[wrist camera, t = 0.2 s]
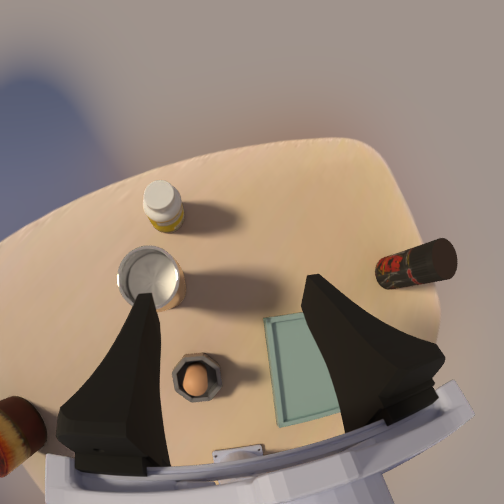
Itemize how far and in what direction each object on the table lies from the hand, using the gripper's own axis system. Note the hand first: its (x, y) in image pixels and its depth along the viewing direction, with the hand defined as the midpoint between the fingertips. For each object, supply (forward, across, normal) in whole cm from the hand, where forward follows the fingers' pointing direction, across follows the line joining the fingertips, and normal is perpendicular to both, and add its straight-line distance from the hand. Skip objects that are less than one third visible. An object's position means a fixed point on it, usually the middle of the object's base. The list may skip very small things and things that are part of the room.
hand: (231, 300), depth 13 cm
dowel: (+14, +3, +28) cm, 32 cm away
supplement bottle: (+32, +5, +12) cm, 34 cm away
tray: (+13, -14, +30) cm, 35 cm away
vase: (+8, +38, +36) cm, 53 cm away
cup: (+14, +3, +29) cm, 32 cm away
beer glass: (+24, +6, +20) cm, 32 cm away
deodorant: (+22, -32, +21) cm, 44 cm away
